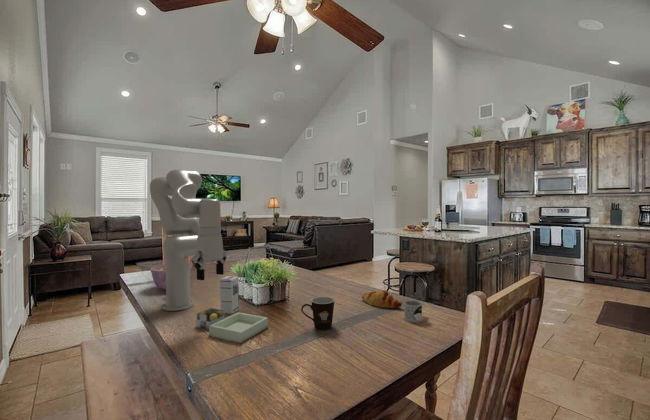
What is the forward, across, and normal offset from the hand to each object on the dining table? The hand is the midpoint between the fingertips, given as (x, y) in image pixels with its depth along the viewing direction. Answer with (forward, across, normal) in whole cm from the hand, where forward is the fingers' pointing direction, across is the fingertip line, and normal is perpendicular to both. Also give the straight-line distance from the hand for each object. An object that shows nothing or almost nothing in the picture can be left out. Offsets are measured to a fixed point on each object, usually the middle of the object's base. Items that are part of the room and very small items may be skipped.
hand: (210, 277), depth 120 cm
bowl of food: (+19, -30, -58) cm, 68 cm away
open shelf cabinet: (+18, 0, 0) cm, 18 cm away
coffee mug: (+18, -16, +38) cm, 45 cm away
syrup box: (+18, -15, -4) cm, 24 cm away
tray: (+18, 0, +14) cm, 23 cm away
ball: (+17, -1, 0) cm, 17 cm away
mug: (+18, -38, +69) cm, 81 cm away
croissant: (+19, -50, +52) cm, 75 cm away
